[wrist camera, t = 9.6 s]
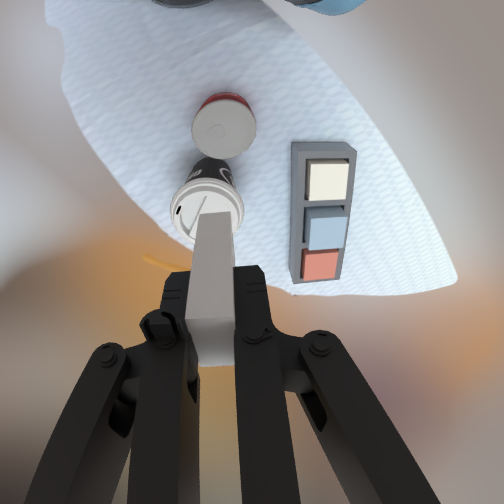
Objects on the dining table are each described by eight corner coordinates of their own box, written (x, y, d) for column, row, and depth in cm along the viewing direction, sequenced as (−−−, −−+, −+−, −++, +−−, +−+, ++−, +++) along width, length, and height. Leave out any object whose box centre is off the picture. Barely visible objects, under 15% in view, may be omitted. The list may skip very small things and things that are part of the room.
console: (291, 142, 46) (297, 151, 42) (345, 142, 46) (357, 151, 42) (288, 267, 61) (293, 284, 57) (332, 263, 61) (339, 279, 57)
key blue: (305, 206, 49) (311, 218, 45) (339, 205, 49) (347, 216, 45) (303, 237, 52) (308, 250, 49) (336, 234, 52) (343, 247, 49)
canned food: (189, 113, 42) (178, 127, 33) (230, 81, 39) (231, 86, 31) (219, 148, 46) (217, 172, 37) (260, 119, 43) (269, 135, 34)
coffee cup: (212, 136, 44) (206, 168, 32) (252, 176, 49) (261, 221, 37) (171, 175, 48) (151, 220, 36) (210, 211, 52) (206, 264, 40)
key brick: (301, 242, 55) (305, 254, 52) (332, 239, 55) (338, 252, 52) (299, 267, 58) (303, 280, 55) (328, 264, 59) (334, 277, 55)
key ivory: (304, 156, 45) (310, 164, 42) (340, 155, 45) (348, 164, 42) (303, 190, 49) (309, 200, 45) (337, 188, 49) (345, 199, 46)
